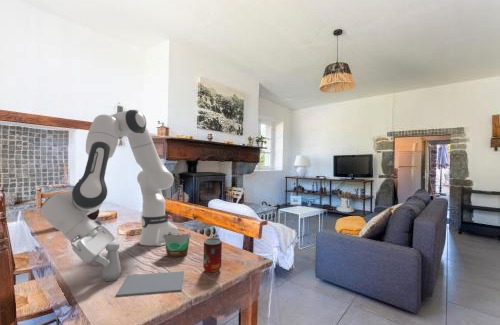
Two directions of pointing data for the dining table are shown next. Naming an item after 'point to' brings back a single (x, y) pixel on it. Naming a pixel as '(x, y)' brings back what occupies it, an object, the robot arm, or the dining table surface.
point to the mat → (151, 283)
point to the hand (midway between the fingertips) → (112, 258)
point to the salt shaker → (112, 262)
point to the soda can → (212, 255)
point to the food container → (177, 245)
